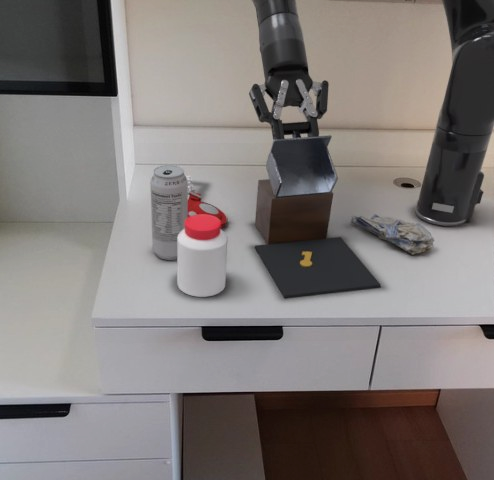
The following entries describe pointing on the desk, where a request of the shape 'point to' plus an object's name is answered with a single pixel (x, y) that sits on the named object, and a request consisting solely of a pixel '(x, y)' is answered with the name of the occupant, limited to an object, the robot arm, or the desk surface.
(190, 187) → the adhesive hook
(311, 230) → the stand
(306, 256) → the brass key
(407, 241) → the mineral specimen
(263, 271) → the desk surface
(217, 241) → the pill bottle
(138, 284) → the desk surface
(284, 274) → the mat
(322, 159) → the key caddy
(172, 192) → the energy drink can
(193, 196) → the tracker holder
